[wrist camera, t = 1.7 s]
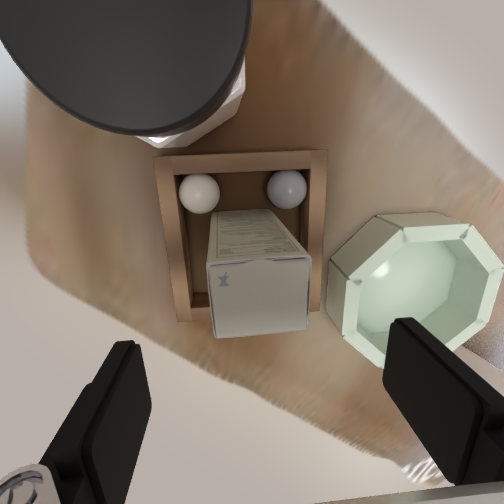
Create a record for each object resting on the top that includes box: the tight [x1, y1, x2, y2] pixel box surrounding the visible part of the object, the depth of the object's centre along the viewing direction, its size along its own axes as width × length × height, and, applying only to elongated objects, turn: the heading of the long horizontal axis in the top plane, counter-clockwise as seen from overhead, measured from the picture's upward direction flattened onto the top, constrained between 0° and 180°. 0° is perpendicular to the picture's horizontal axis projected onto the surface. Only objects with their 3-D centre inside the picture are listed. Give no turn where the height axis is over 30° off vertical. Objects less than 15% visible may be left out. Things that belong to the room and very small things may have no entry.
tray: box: [153, 150, 328, 322], centre depth 23 cm, size 13×12×2 cm
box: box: [206, 209, 312, 338], centre depth 19 cm, size 5×4×11 cm
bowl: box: [326, 212, 504, 369], centre depth 25 cm, size 13×13×4 cm
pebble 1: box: [179, 173, 220, 214], centre depth 21 cm, size 3×3×3 cm
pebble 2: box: [267, 169, 307, 209], centre depth 22 cm, size 3×3×3 cm
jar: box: [0, 0, 253, 148], centre depth 14 cm, size 9×8×12 cm
